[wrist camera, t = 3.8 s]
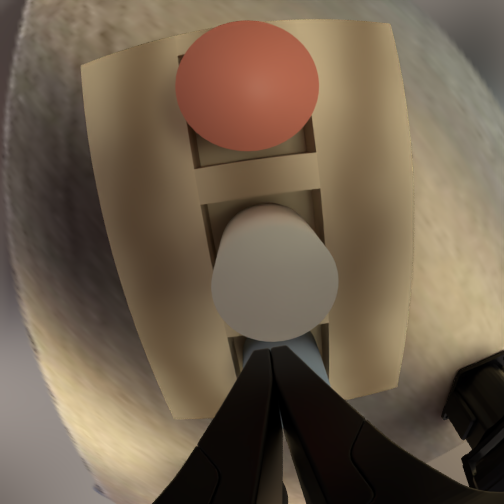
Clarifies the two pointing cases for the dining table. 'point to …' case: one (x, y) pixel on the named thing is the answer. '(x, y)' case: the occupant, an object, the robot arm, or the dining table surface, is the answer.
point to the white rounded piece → (272, 274)
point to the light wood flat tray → (255, 192)
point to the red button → (247, 85)
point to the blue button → (299, 345)
